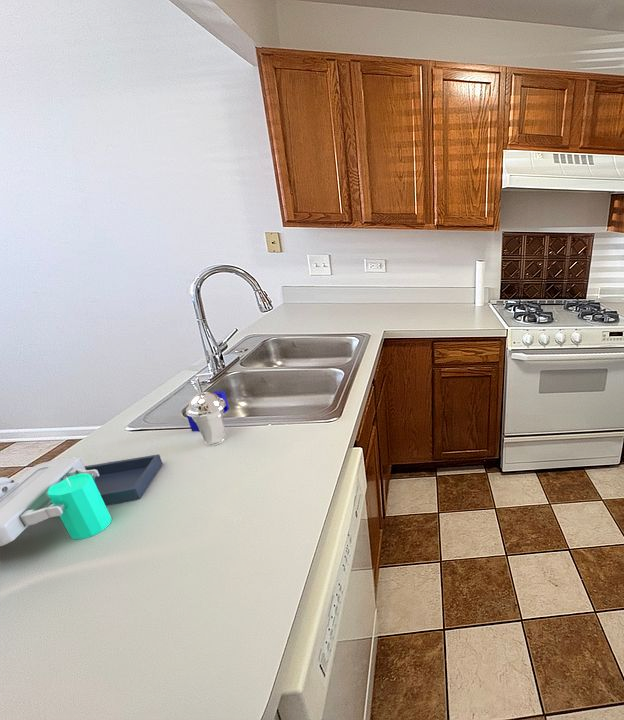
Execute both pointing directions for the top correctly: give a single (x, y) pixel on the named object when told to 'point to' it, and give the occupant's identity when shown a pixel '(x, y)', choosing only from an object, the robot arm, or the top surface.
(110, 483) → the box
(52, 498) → the candle
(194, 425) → the cable clip
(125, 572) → the top surface
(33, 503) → the robot arm
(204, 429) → the cup with straw
